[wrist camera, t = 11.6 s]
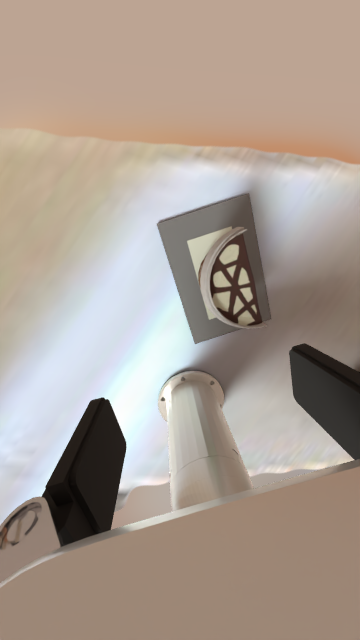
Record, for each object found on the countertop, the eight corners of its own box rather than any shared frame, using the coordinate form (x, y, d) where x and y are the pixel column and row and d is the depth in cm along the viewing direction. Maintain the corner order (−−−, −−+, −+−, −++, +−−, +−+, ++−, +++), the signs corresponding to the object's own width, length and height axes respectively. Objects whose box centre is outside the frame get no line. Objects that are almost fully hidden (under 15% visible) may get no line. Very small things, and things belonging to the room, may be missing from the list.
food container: (179, 248, 30) (189, 243, 20) (218, 234, 30) (245, 223, 20) (203, 322, 34) (220, 346, 24) (237, 309, 34) (268, 329, 24)
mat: (269, 318, 35) (271, 319, 35) (194, 342, 35) (195, 344, 35) (247, 194, 29) (249, 193, 29) (156, 224, 29) (156, 223, 29)
